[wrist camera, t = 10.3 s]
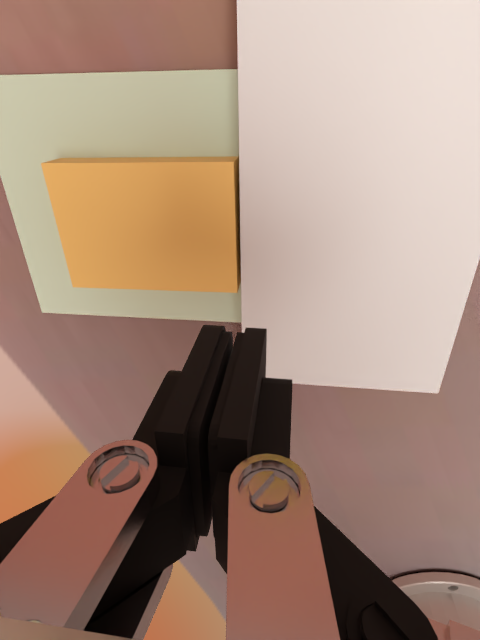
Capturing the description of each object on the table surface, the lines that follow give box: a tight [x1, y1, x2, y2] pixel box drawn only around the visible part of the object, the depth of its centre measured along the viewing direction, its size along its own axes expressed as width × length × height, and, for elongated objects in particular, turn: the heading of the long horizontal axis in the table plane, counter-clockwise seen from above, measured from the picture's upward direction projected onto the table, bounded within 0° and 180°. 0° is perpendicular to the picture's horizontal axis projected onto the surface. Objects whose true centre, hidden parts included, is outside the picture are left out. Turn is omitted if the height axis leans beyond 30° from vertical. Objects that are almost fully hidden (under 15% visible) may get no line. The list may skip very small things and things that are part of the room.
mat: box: [0, 69, 242, 323], centre depth 23 cm, size 14×14×1 cm
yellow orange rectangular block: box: [41, 156, 241, 293], centre depth 22 cm, size 7×10×2 cm
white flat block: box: [237, 0, 480, 393], centre depth 21 cm, size 20×12×2 cm, turn 1°
